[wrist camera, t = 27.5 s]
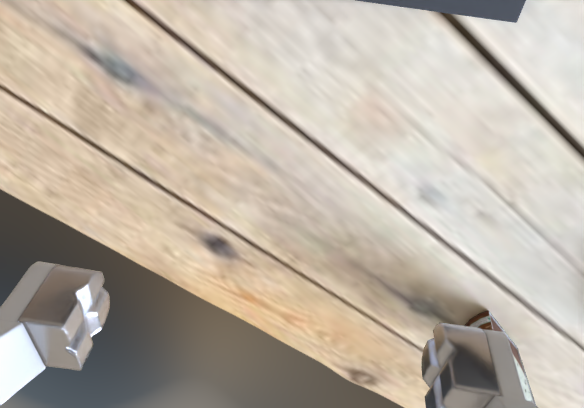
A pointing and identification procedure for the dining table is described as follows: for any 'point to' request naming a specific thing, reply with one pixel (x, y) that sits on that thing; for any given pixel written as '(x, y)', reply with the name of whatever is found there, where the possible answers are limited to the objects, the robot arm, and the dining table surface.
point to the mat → (465, 7)
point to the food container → (489, 323)
